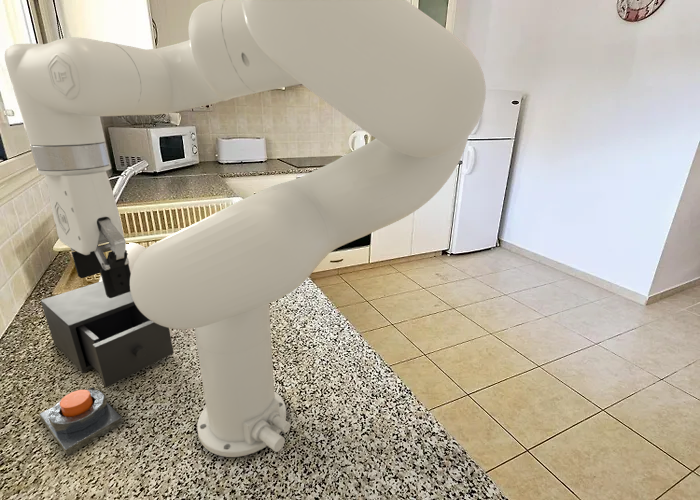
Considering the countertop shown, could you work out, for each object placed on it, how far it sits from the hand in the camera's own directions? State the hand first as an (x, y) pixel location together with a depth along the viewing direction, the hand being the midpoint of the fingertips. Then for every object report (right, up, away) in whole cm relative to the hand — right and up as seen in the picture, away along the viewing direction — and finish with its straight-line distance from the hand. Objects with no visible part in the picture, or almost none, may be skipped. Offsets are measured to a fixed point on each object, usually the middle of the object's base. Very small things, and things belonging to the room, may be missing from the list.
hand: (105, 283), depth 52 cm
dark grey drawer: (-6, -15, +15) cm, 22 cm away
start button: (-5, -18, +2) cm, 19 cm away
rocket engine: (-23, -6, +39) cm, 45 cm away
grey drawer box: (-14, -13, +21) cm, 28 cm away
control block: (-5, -21, +3) cm, 21 cm away
